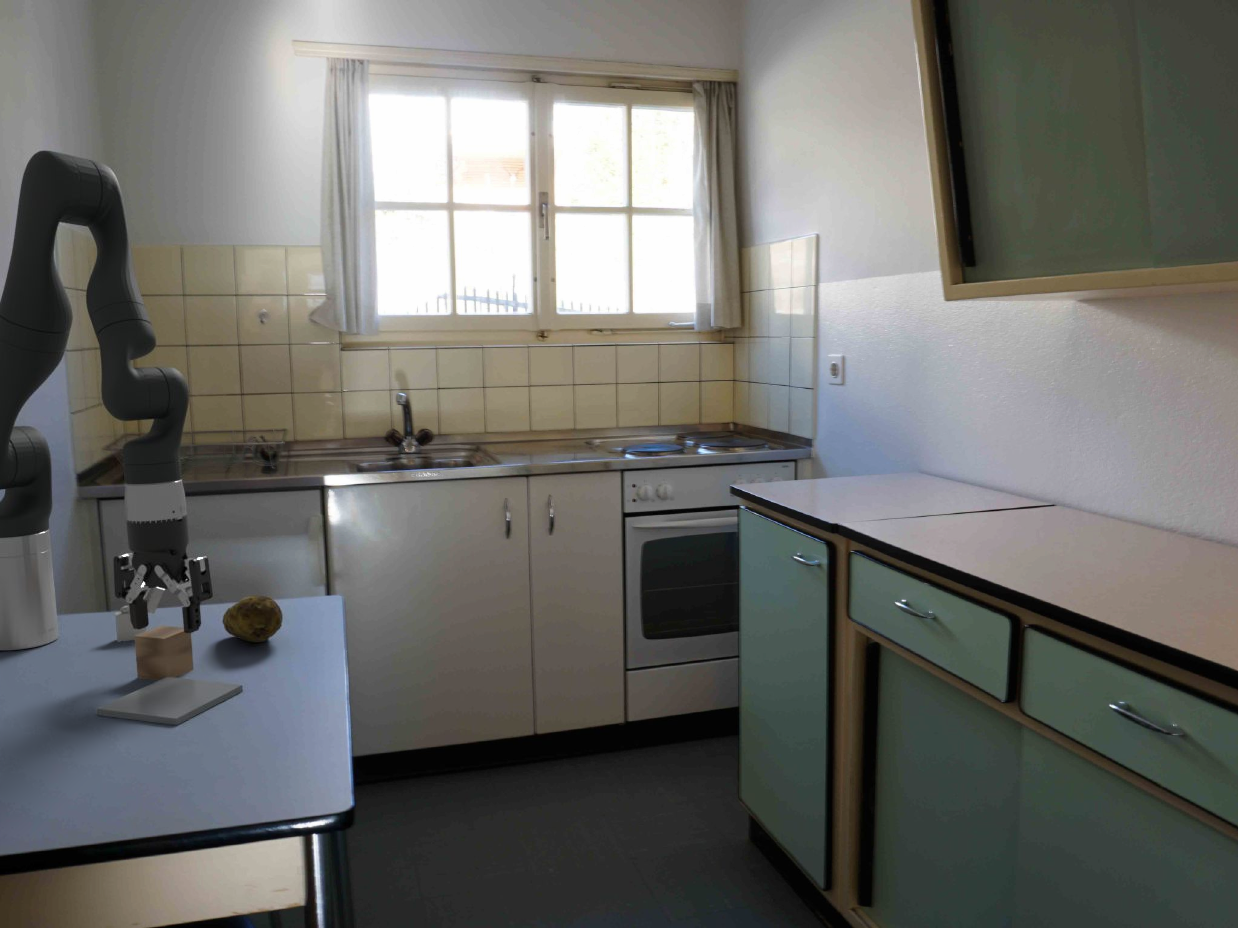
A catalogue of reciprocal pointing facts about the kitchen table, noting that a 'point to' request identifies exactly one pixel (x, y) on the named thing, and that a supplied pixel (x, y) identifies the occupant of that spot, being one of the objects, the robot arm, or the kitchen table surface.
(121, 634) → the lighter
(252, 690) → the kitchen table surface
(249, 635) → the potato
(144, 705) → the coaster
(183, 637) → the block
